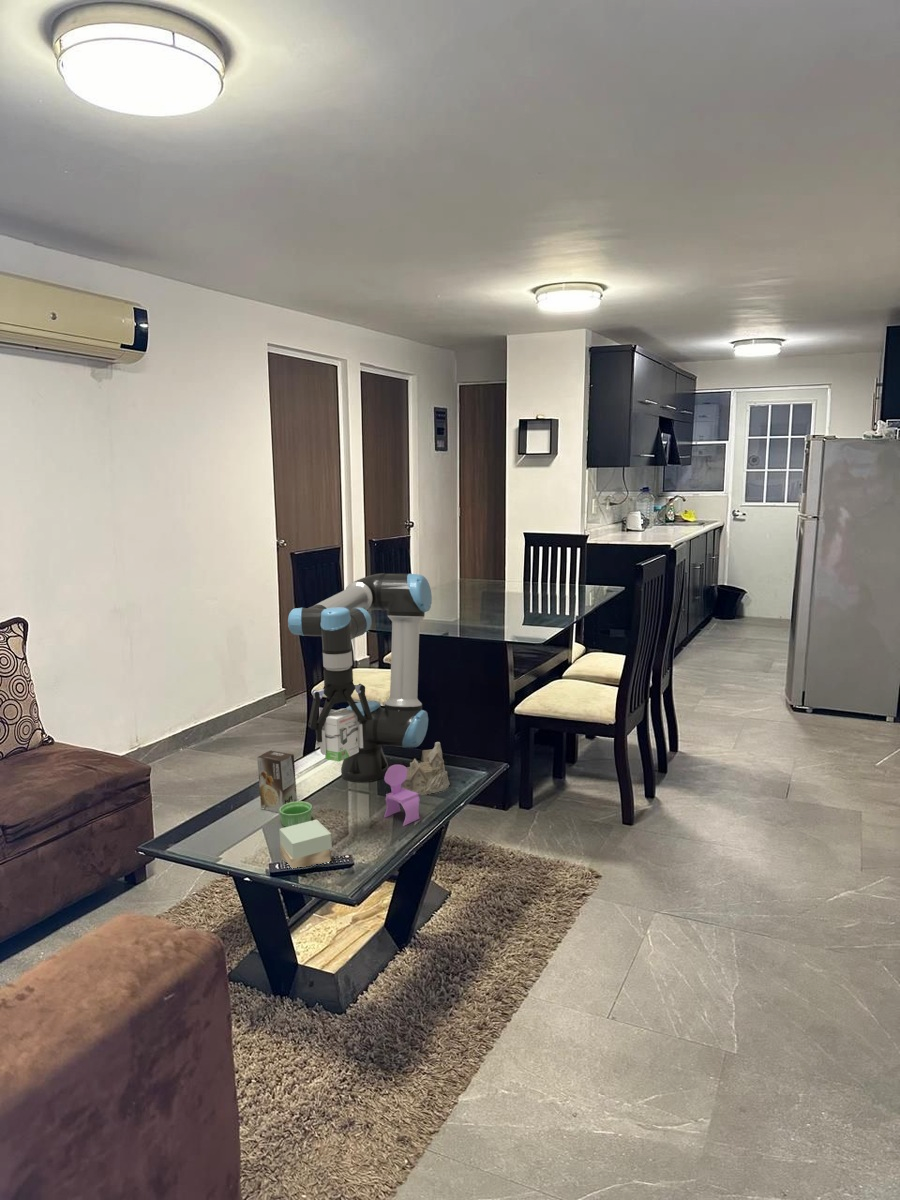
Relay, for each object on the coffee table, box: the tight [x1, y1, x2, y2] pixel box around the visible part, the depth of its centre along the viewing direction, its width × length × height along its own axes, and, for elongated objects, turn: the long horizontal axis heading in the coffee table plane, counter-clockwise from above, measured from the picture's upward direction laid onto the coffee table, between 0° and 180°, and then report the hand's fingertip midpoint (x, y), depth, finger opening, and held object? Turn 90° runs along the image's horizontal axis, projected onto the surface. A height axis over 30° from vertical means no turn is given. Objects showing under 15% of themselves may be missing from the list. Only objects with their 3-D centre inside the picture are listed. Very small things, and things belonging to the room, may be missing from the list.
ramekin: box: [279, 800, 313, 828], centre depth 227 cm, size 9×9×4 cm
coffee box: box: [256, 750, 298, 814], centre depth 236 cm, size 9×6×16 cm
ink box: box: [323, 708, 359, 763], centre depth 214 cm, size 9×5×12 cm, turn 148°
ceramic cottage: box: [401, 741, 451, 796], centre depth 250 cm, size 16×16×15 cm
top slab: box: [278, 819, 333, 859], centre depth 205 cm, size 10×10×4 cm
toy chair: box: [382, 764, 421, 827], centre depth 227 cm, size 8×9×15 cm
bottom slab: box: [279, 843, 332, 869], centre depth 205 cm, size 10×10×4 cm
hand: (341, 749), depth 215 cm, fingers closed on ink box, 9 cm apart
